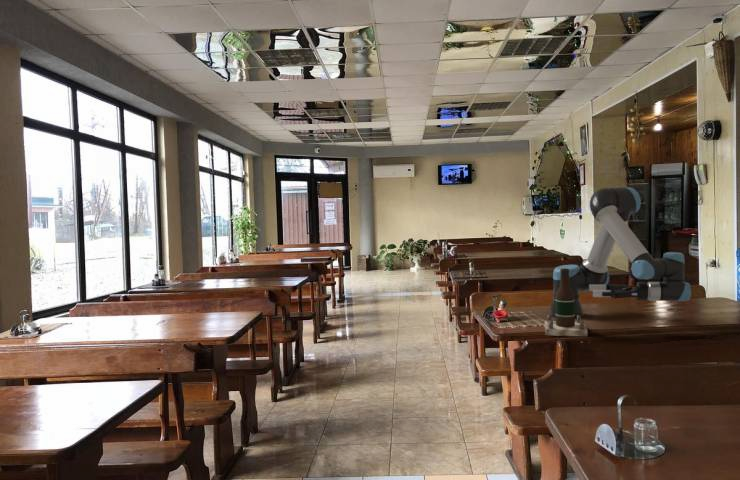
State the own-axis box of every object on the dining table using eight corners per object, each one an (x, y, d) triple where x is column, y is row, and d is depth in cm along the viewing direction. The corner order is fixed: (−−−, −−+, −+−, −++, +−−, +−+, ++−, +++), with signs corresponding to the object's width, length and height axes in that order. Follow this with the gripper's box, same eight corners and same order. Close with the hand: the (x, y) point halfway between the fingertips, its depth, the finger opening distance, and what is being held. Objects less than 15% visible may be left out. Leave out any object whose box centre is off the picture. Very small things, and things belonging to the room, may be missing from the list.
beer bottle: (575, 323, 247) (574, 267, 245) (575, 327, 239) (574, 270, 238) (555, 323, 249) (555, 267, 247) (555, 327, 242) (554, 269, 240)
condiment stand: (546, 335, 239) (545, 322, 238) (544, 326, 254) (544, 314, 254) (587, 336, 235) (587, 323, 234) (583, 327, 250) (583, 314, 250)
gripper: (653, 306, 223) (594, 305, 229) (641, 294, 247) (588, 294, 253) (653, 287, 223) (594, 286, 228) (641, 277, 247) (588, 277, 252)
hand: (591, 290), depth 241 cm, fingers open, 13 cm apart
